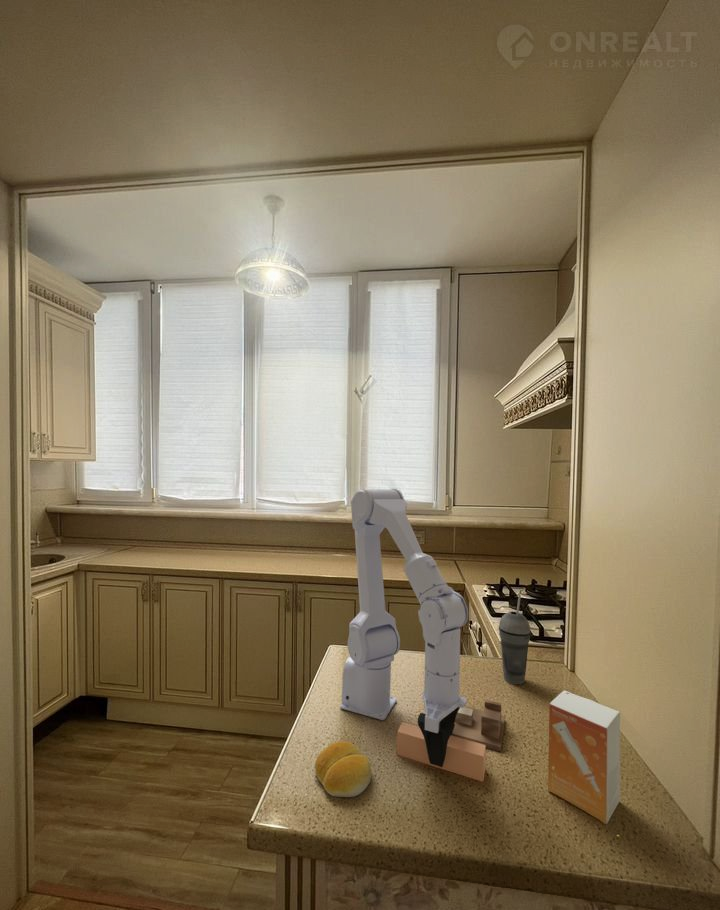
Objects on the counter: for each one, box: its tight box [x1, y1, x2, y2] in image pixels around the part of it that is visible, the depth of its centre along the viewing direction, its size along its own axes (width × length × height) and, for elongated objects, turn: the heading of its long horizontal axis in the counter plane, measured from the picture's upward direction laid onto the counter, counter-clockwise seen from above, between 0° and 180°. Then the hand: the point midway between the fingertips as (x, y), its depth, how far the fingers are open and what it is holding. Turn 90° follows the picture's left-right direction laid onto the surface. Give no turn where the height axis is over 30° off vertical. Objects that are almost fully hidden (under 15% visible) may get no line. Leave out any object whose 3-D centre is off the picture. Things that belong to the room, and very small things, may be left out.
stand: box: [452, 699, 506, 752], centre depth 77 cm, size 14×10×4 cm
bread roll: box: [314, 740, 372, 798], centre depth 62 cm, size 8×9×4 cm
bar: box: [396, 721, 487, 783], centre depth 66 cm, size 14×3×4 cm, turn 67°
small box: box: [547, 690, 621, 825], centre depth 60 cm, size 8×6×13 cm
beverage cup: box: [497, 593, 532, 685], centre depth 95 cm, size 7×7×20 cm
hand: (440, 752), depth 66 cm, fingers open, 5 cm apart
